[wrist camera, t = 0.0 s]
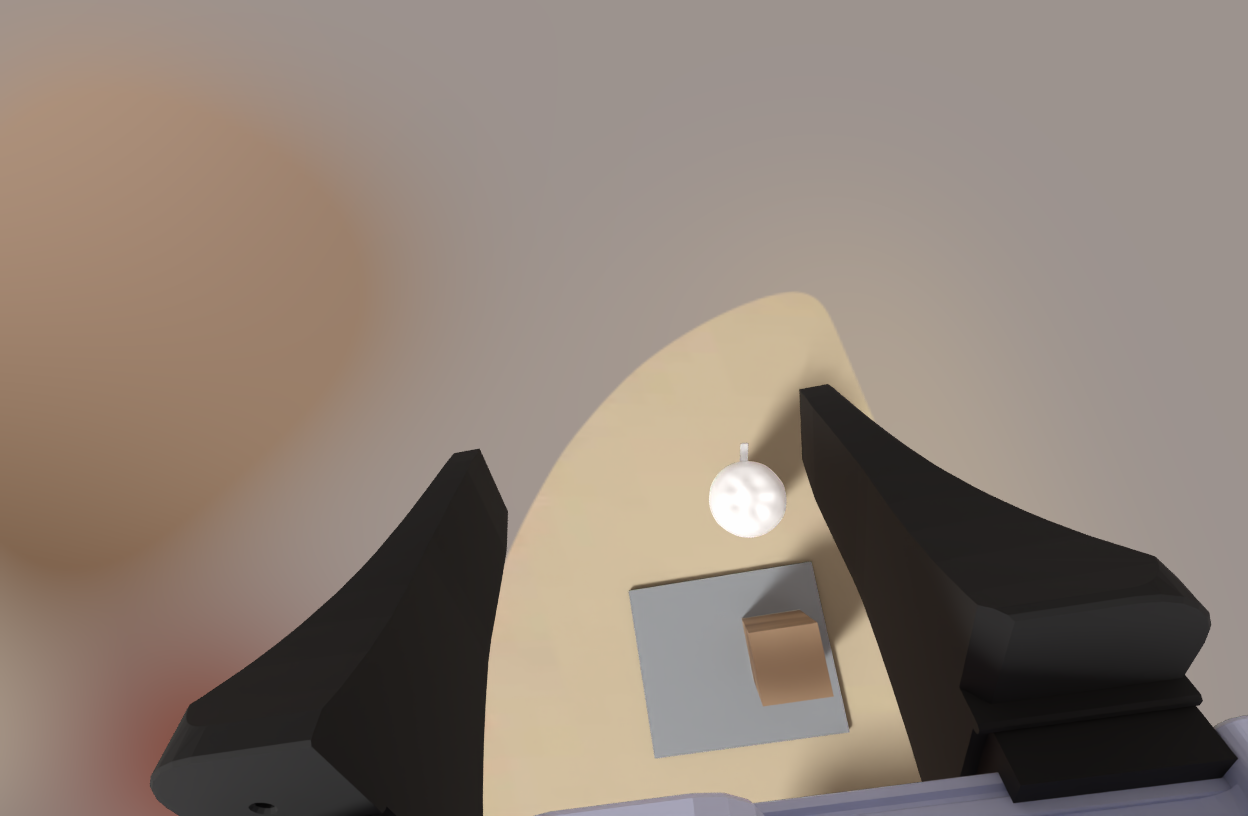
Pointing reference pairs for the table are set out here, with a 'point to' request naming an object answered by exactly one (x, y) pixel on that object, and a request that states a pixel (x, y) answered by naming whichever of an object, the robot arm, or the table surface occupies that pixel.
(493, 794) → the table surface
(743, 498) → the milkshake
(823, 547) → the table surface
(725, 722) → the mat
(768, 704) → the walnut block
